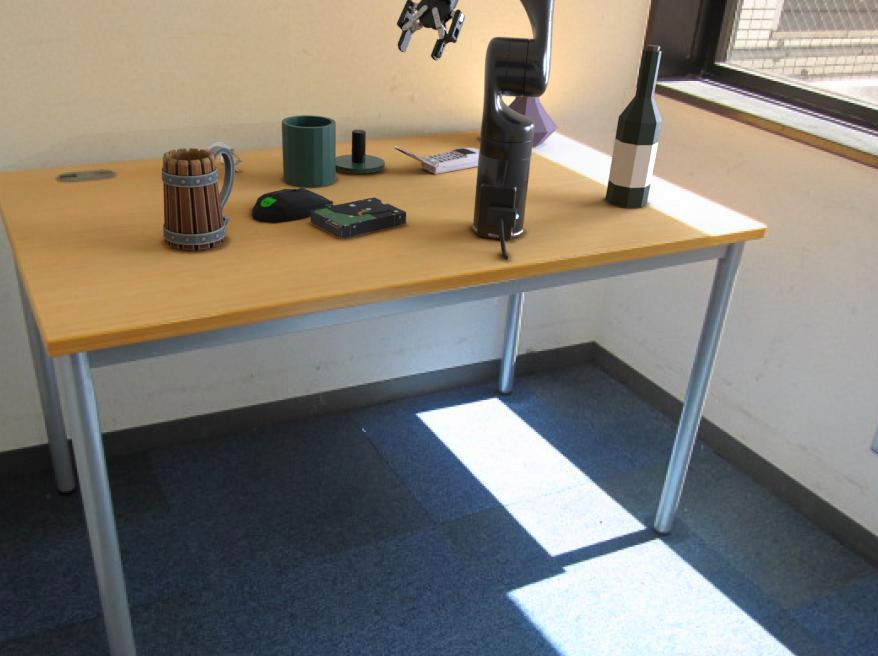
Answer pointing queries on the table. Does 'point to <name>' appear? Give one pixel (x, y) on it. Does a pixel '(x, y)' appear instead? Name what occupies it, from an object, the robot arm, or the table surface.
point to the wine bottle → (636, 139)
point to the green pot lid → (359, 157)
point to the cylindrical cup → (309, 150)
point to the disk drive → (357, 217)
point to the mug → (195, 198)
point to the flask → (535, 117)
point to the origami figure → (227, 148)
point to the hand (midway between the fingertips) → (417, 54)
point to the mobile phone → (447, 160)
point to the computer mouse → (287, 205)
